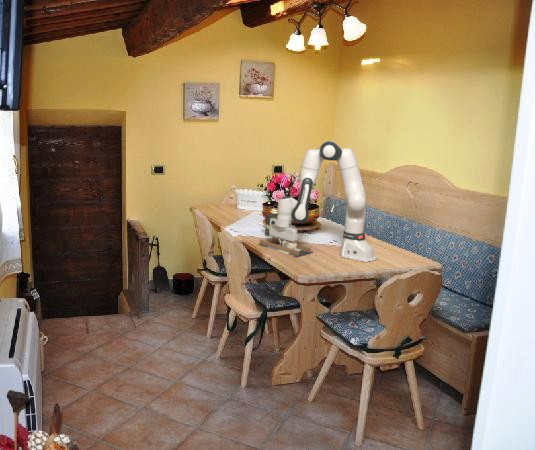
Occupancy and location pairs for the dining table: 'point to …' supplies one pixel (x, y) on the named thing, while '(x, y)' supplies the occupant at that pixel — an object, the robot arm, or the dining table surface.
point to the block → (290, 244)
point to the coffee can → (268, 218)
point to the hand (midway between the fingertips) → (282, 245)
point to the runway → (276, 246)
